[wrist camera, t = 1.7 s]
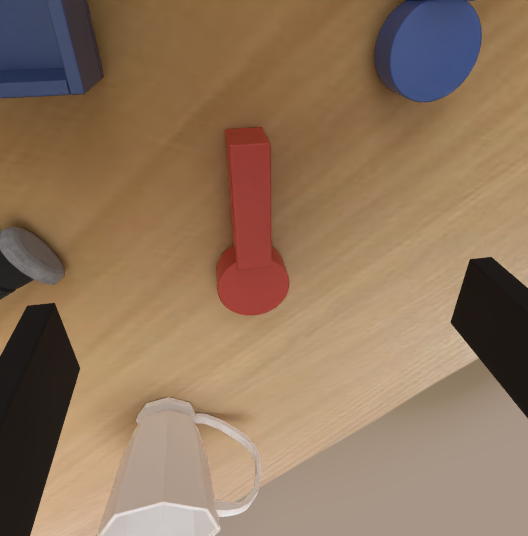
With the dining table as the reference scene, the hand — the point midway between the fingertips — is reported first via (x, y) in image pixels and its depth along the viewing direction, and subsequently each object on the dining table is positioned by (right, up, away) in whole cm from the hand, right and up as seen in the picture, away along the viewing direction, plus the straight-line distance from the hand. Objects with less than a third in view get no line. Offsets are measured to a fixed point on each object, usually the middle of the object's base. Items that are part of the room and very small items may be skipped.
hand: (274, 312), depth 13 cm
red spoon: (-1, +4, +9) cm, 10 cm away
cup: (-6, -10, +17) cm, 21 cm away
